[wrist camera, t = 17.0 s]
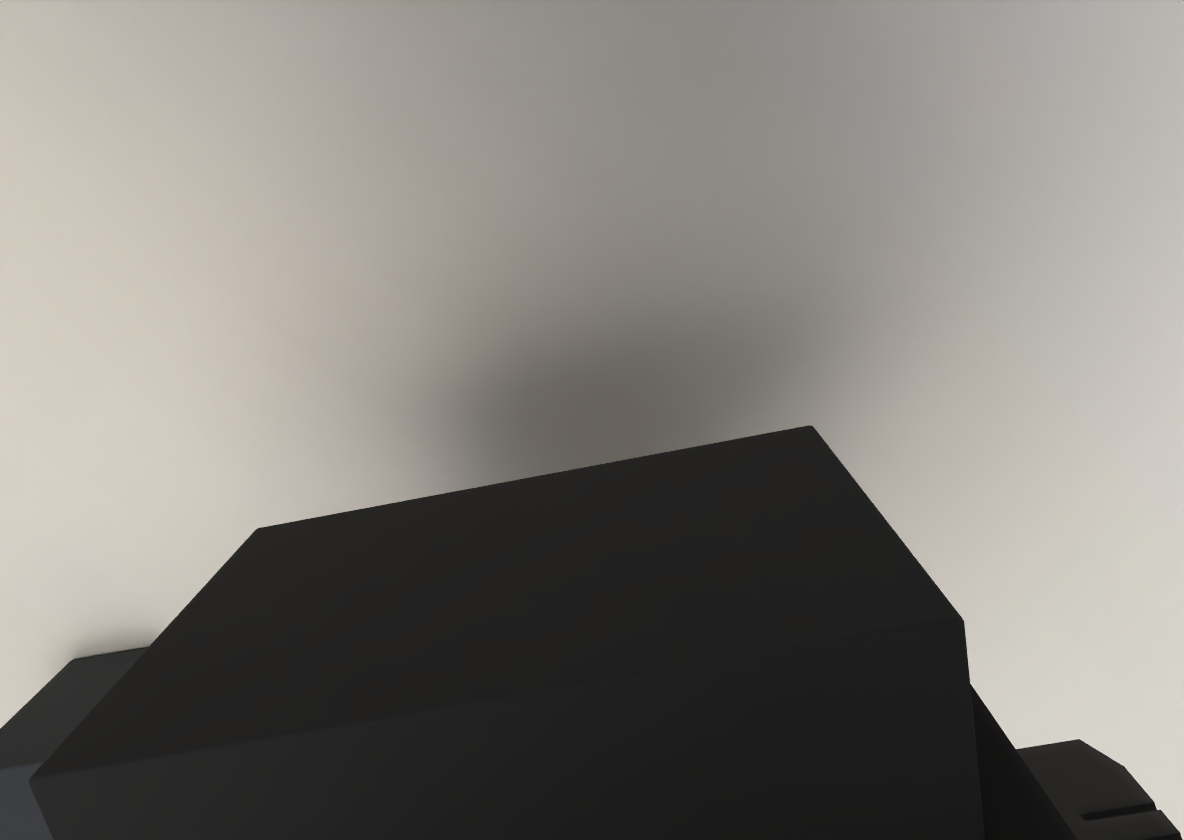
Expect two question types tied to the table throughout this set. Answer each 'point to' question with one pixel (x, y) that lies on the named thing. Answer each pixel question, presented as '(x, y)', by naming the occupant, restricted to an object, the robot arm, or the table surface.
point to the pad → (551, 671)
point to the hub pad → (49, 735)
